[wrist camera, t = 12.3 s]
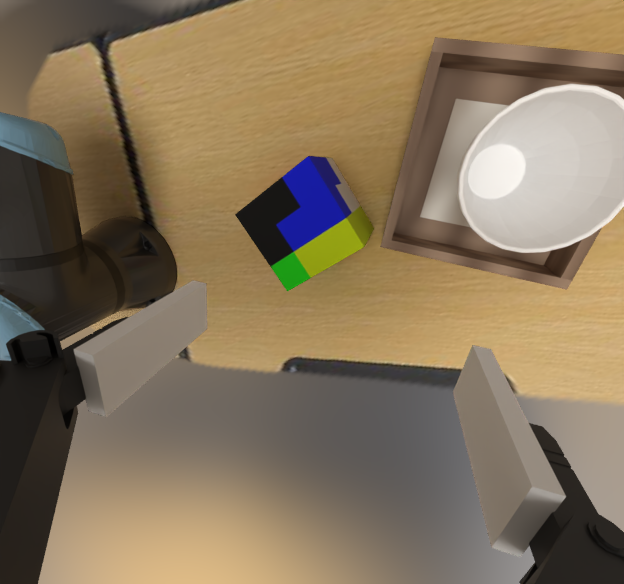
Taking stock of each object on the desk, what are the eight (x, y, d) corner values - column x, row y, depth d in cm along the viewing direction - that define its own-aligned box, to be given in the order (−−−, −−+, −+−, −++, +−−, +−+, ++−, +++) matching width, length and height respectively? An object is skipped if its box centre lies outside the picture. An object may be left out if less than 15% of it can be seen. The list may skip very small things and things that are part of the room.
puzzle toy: (332, 158, 37) (308, 155, 28) (374, 228, 39) (364, 246, 30) (272, 204, 42) (235, 214, 33) (312, 265, 43) (287, 291, 34)
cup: (554, 100, 29) (658, 54, 17) (553, 211, 32) (639, 239, 20) (435, 133, 32) (451, 115, 20) (445, 230, 36) (464, 263, 24)
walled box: (383, 237, 39) (380, 246, 34) (431, 55, 31) (435, 37, 26) (546, 273, 35) (566, 289, 31) (648, 78, 27) (695, 61, 23)
